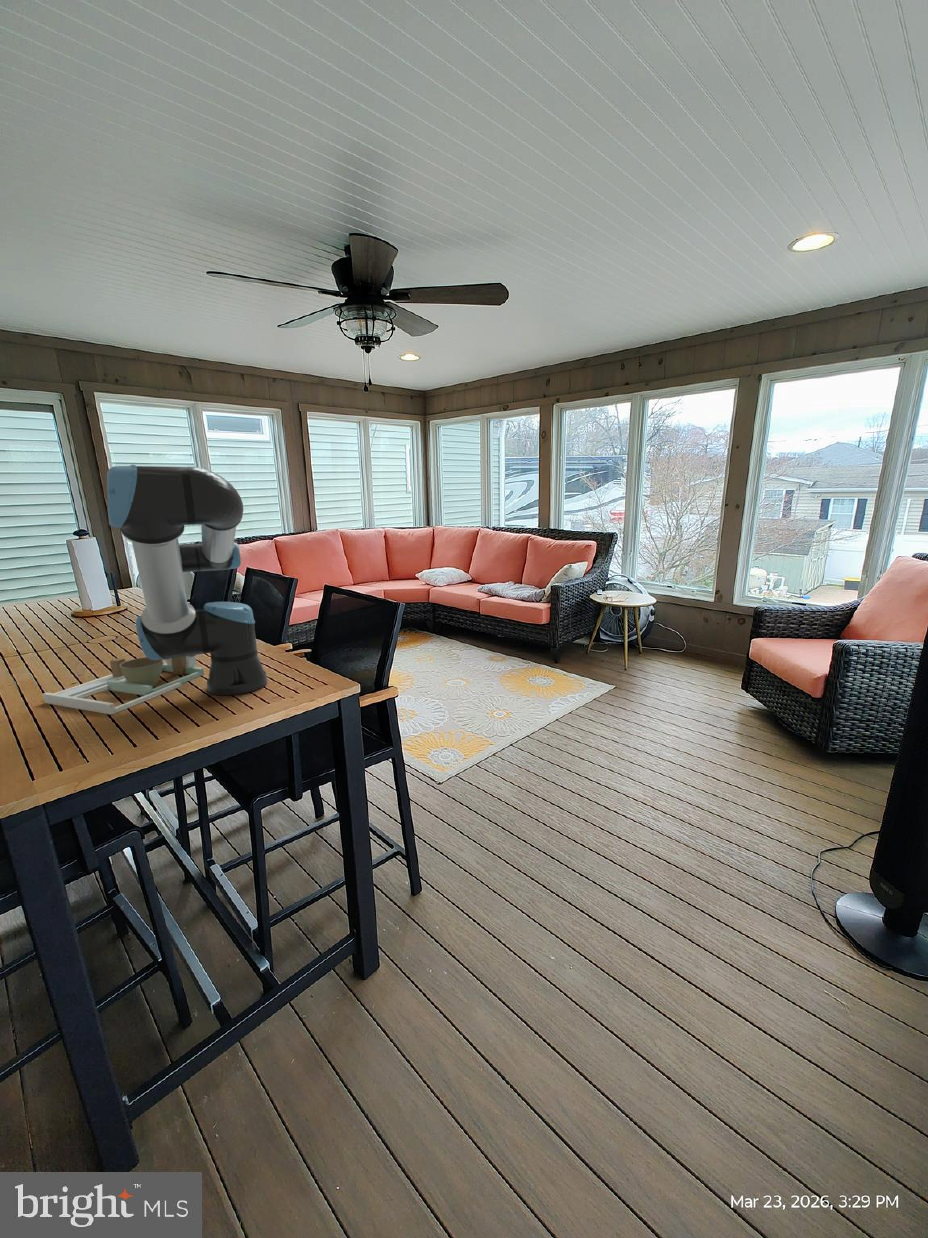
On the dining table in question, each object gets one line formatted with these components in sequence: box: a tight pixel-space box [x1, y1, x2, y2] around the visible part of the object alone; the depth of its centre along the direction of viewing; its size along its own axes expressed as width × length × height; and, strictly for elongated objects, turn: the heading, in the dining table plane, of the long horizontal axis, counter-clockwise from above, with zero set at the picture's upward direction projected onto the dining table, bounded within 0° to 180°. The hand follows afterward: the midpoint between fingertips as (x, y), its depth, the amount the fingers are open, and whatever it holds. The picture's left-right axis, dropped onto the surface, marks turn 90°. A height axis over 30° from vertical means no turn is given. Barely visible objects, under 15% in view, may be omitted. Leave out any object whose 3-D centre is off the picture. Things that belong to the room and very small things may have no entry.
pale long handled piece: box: [59, 657, 126, 696], centre depth 138 cm, size 4×19×6 cm, turn 161°
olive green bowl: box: [120, 656, 164, 688], centre depth 139 cm, size 10×10×7 cm
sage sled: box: [107, 656, 205, 696], centre depth 143 cm, size 15×19×10 cm
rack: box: [42, 673, 182, 715], centre depth 134 cm, size 26×20×2 cm
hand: (182, 665), depth 151 cm, fingers closed on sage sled, 7 cm apart
